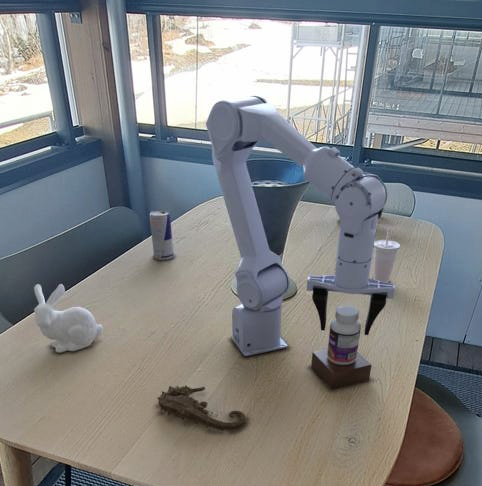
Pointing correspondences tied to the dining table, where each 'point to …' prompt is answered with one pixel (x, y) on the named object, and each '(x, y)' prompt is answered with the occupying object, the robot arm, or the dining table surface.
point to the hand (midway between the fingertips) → (344, 330)
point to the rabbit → (65, 323)
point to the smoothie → (384, 258)
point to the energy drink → (161, 234)
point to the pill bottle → (344, 336)
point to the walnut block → (340, 370)
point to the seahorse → (194, 408)
